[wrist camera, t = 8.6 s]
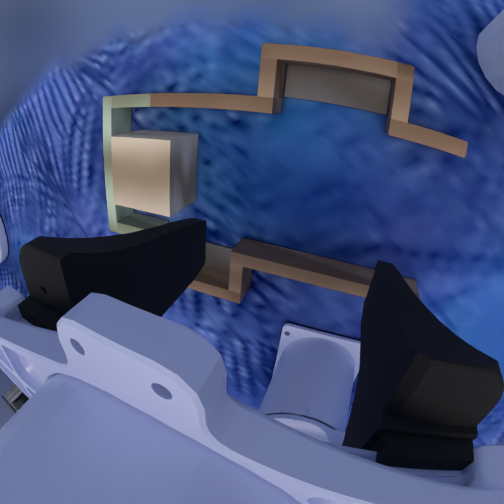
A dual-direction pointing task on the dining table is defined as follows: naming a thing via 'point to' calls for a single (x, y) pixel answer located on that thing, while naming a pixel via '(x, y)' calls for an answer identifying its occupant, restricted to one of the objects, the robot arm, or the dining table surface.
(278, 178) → the dining table surface
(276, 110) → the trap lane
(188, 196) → the oak block
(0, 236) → the bottle
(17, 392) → the milk frother
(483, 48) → the white tapered cup
